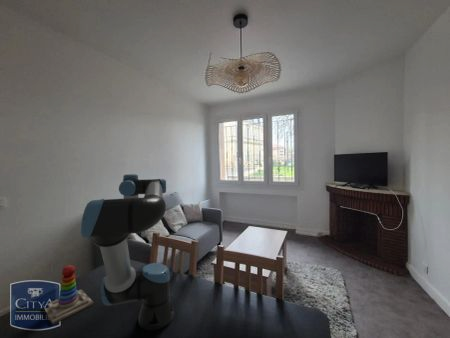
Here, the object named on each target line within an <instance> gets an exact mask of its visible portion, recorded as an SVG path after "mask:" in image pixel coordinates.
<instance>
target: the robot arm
mask: <svg viewBox="0 0 450 338" xmlns="http://www.w3.org/2000/svg"><path fill="white" fill-rule="evenodd" d="M122 178H123V179H122V181H121V182H120V183H119V186H118V191H119V193H120V194H121V195H122V196H123V198H112V199H110V198H109V199H104V198H102V199H93V200H90V201H88V202H87V204H86V206H85V207H84V210H83V214H82V219H81V223H80V225H81V226H80V233H81V237H82V238H84V239H85V238H86V239H90V238H91V241H92V242H93V244H94V245H96V246H97V247H99V250H100V253H101V256H102V257H101V258H102V260H103V265H104V268H105V272H106V275H105V276H104V277H103V278H102V282H101V286H100V294H101V296H100V298H101V301H102V303H103V304H104V306H116V305H120V304H121V305H122V304H125V303H131V302H132V303H133V302H136V301H137V302H138V301H142V304H141V307H140V311H139V314H138V325H139V328H141V329H143V330H145V331H149V332H151V331H159V330H160V329H163V328H165V327H166V326H167V325H169V324H170V323H172V320H173V318H174V315H175V313H174V312H175V311H174V310H175V309H174V307H173V303H172V301H171V298H170V296H171V295H170V280H171V279H170V278H171V276H170V270H169V268H168V266H167V265H165V264H164V263H160V262H152V263H148V264H145V265H144V266H143V267H142V269H140V270H136V269H135V268H134V267H133V266H132V265H131V260H130V259H131V258H130V252H129V245H128V244H129V243H128V237H129V236H130V235H131V234H132V235H133V234H140V236H141V238H146V237H145V236H146V231H148V230H150V229H152V228H153V227H154V226H156V225H157V224H158V223H160V221H161V220H162V218H163V217H164V215H165V213H166V209H167V208H166V206H167V205H166V201H165V199H164V197H163V194H165V193H166V192H167V180H166V179H163V178H157V179H156V178H155V179H152V178H151V179H150V178H148V179H139V175H137V174H136V173H135V174H133V173H132V174H131V173H129V174H123V176H122ZM139 195H144V196H143V197H139Z"/></svg>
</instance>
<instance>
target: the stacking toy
mask: <svg viewBox="0 0 450 338" xmlns="http://www.w3.org/2000/svg"><path fill="white" fill-rule="evenodd" d="M75 271H76V268H75V266H74V265H70V264H68V265H66V266H65V267H64V268H62V270H61V275H62V278H61V286H60V291H59V296H58V299H59V300H58V302H59V303H58V307H59V308H61V309H65V308H69V307H71V306H73V305H75V304H76V303H77V302H78V297H77V296H78V294H77V291H78V290H77V289H78V288H77V281H76V278H75V277H76V275H75V274H74V273H75Z"/></svg>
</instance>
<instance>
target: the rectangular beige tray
mask: <svg viewBox="0 0 450 338" xmlns="http://www.w3.org/2000/svg"><path fill="white" fill-rule="evenodd" d="M77 294H78V296H77V297H78V302H77V303H76V304H75V305H73V306H71V307H69V308H65V309H61V308H59V307H58V303H59V302H58V300H59V298H57V299H54V300H53V301H50V302H48V303H47V304H48V306H49V307H48V308H46V307H44V305H42V308H43V307H44V309H45V311H46V313H47V314H46V313H45V314H46V316H47V315H48V316H47V318H48V317H49V318H48V319H49V322H50V323H51V324H52V326H53V325H55V324H56V323H59V322H60V321H63V320H65V319H66V318H68V317H71V316H73V315H74V314H77V313H79V312H81V311H83V310H85V309H87V308H88V307H91V306H92V305H94V301H93V300H92V299H91V298H90V297H89V296H88V295H87V293H86V292H85V291H84V290H83V289H78V290H77ZM44 309H43V310H44ZM45 311H44V312H45Z"/></svg>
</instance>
